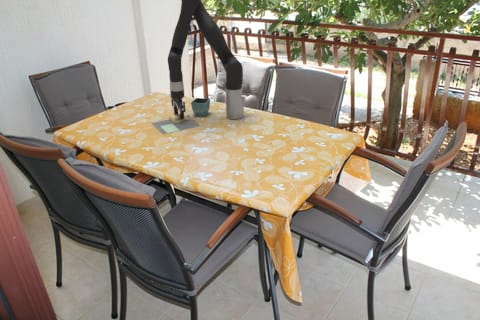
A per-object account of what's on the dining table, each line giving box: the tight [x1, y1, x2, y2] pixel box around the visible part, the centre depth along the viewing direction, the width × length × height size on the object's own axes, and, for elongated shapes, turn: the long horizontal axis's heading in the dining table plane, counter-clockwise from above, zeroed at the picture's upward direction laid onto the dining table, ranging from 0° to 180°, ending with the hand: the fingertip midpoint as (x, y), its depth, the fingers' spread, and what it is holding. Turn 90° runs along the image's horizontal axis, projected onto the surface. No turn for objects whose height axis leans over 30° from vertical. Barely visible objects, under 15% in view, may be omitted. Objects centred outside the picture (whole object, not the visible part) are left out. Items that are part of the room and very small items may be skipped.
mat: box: [150, 117, 201, 135], centre depth 224 cm, size 22×19×1 cm
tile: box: [169, 112, 191, 123], centre depth 229 cm, size 10×5×3 cm, turn 120°
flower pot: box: [190, 97, 211, 117], centre depth 236 cm, size 9×9×9 cm
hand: (179, 116), depth 229 cm, fingers open, 8 cm apart
